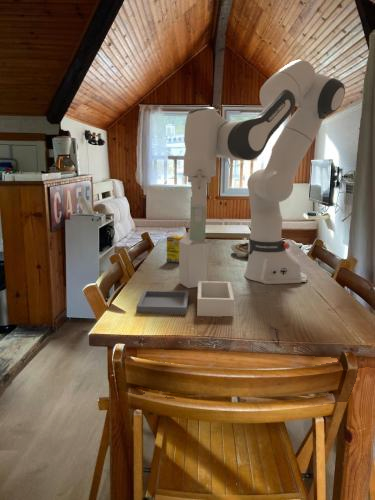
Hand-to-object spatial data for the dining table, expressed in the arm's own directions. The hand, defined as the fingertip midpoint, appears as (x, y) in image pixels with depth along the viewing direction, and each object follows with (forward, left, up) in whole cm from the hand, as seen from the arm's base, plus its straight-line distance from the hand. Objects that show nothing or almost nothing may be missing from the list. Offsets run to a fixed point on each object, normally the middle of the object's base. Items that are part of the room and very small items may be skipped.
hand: (198, 219), depth 110 cm
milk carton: (+2, -20, -26) cm, 33 cm away
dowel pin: (0, 0, -6) cm, 6 cm away
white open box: (-5, 0, -26) cm, 26 cm away
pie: (-25, -66, -26) cm, 76 cm away
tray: (+10, 0, -26) cm, 27 cm away
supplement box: (+10, -51, -26) cm, 58 cm away
